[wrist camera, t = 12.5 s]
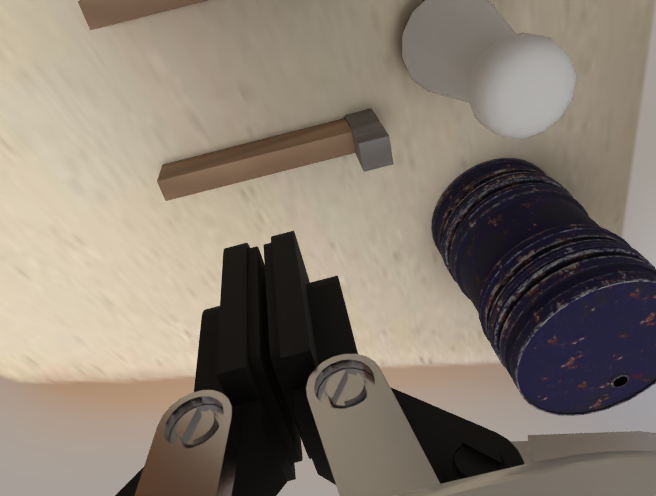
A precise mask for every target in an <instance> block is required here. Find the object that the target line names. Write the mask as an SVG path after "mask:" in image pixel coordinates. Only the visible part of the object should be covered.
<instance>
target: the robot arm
mask: <svg viewBox="0 0 656 496" xmlns="http://www.w3.org/2000/svg"><path fill="white" fill-rule="evenodd" d="M264 259H265V265H264V262H263V259H262V256H261V253H260V251H259V248H258V247H253V248H250V247H249V245H248V243H244V244H240V245H237V246H233V247H229V248H225V249H224V253H223V269H222V285H221V301H220V306H218V307H214V308H210V309H206V310H204V311H203V314H202V321H201V330H200V340H199V349H198V359H197V368H196V378H195V387H194V388H195V389H194V392H193V393H191V394H188V395H186V396H184V397H182V398H181V399H179V400H178V401H177V402H175V403H174V404H173V405H171V407H169V409H168V410H167V411H166V412H165V413H164V415H163V416H162V418H161V420H160V422H159V424H158V426H157V429H156V432H155V435H154V438H153V441H152V444H151V447H150V450H149V453H148V456H147V459H146V463H145V465H144V467H143V468H142V469H141V470H140V471H139V472H138V473H137V474H136V475H135V476H134V478H132V479H131V480H130V481H129V482H128V483H127V484H126V485H125V487H124V488H122V489H121V490H120V491H119V492H118V494H117V495H115V496H276V495H277V494H278V493H279V491H280V490H281V489H282V487H283V486H284V485H285V484H286V483H287V481H290V480H294V479H296V478H295V466H294V463H295V462H299V461H302V449H301V439H302V442H303V444H304V447H305V450H306V452H307V454H308V457H309V458H310V459H311V458H312V460H313V462H314V465H315V468H316V470H317V473H318V474H319V475H320V476H322V477H324V478H325V479H327V480H329V481H331V482H332V483H334V484H335V485H336V486H337V489H338V492H339V495H340V496H656V433H650V432H641V431H634V432H607V433H606V432H605V433H577V434H549V435H528V441H517V442H510V441H509V440H508V439H506V438H504V437H503V436H501V435H499V434H498V433H496V432H494V431H491V430H488V429H486V428H484V427H482V426H480V425H477V424H475V423H473V422H470V421H468V420H465V419H463V418H461V417H458V416H456V415H454V414H452V413H449V412H446V411H445V410H442V409H440V408H438V407H435V406H432V405H431V404H428V403H426V402H424V401H421V400H419V399H417V398H414V397H412V396H410V395H407V394H405V393H402V392H400V391H398V390H395V389H393V388H391V387H390V386H389V384H388V382H387V380H386V378H385V376H384V374H383V372H382V371H381V369H380V368H379V366H378V365H377V364H376V363H375V361H373V360H371V359H370V358H368V357H366V356H363V355H359V354H358V353H357V349H356V345H355V341H354V337H353V333H352V329H351V325H350V321H349V317H348V313H347V309H346V305H345V302H344V298H343V294H342V290H341V286H340V282H339V279H338V276H334V277H331V278H327V279H323V280H319V281H315V282H311V283H310V282H309V279H308V275H307V272H306V269H305V265H304V262H303V259H302V256H301V252H300V249H299V246H298V242H297V239H296V236H295V233H294V231H291V232H287V233H283V234H279V235H275V236H272V237H271V243H269V244H265V245H264ZM300 437H301V438H300Z"/></svg>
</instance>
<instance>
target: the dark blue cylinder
mask: <svg viewBox="0 0 656 496" xmlns="http://www.w3.org/2000/svg"><path fill="white" fill-rule="evenodd" d="M432 235H433V239H434V242H435V245H436V247H437V248H438V250H439V252H440V253H441V255H442V257H443V260H444V263H445V265H446V267H447V269H448V271H449V272H450V274H451V276H452V277H453V279H454V280H455V281H456V282H457V283H458V285H459V287H460V288H461V290H462V292H463V293H464V294H465V295H466V296H467V297H468V298H469V299H470V300H471V301H472V302H473V304H474V306H475V308H476V309H477V311H478V313H479V319H480V322H481V326H482V329H483V332H484V334H485V336H486V337H487V339H488V340H489V341H490V343H491V346H492V348H493V349H494V351H495V353H496V355H497V356H498V358H499V360H500V361H501V363H502V365H503V366H504V367H505V368H506V369H507V371H508V372H509V374H510V376H511V377H512V379H513V381H514V383H515V385H516V386H517V388H518V390H519V391H520V393H521V395H522V397H523V398H524V399H525V400H526V401H527V402H528V403H529V404H530V405H531V406H533V407H535V408H536V409H538V410H540V411H543V412H546V413H549V414H554V415H563V416H574V415H584V414H591V413H595V412H599V411H603V410H606V409H609V408H612V407H614V406H617V405H619V404H622V403H624V402H626V401H628V400H630V399H632V398H634V397H636V396H637V395H639V394H641V393H643V392H644V391H645V390H647V389H648V388H650V387H651V386H653V385H654V384H655V383H656V269H655V267H654V266H653V265H652V264H651V263H650V262H649V261H648V260H647V259H645V258H644V257H643V256H642V255H641V254H640V253H639V252H638V251H636V250H635V249H633V248H632V247H631V246H630V245H629V244H628V243H627V242H626V241H625V240H624V239H622V238H621V237H619V236H618V235H616V234H614V233H612V232H610V231H608V230H606V229H604V228H601V227H600V226H599V225H597V224H596V223H595V222H594V221H593V220H592V219H591V218H590V217H589V216H588V214H587V212H586V211H585V209H584V208H583V207H582V206H581V205H580V204H579V203H578V202H577V201H576V200H575V199H574V198H573V196H572V195H571V194H570V193H569V192H568V191H567V190H566V189H565V188H564V187H563V186H561V185H560V184H559V183H558V182H556V181H555V180H553V179H552V178H550V177H548V176H547V175H546V174H545V173H544V172H543V171H542V170H540V169H539V168H538V167H536V166H535V165H533V164H532V163H529V162H527V161H524V160H519V159H514V158H502V159H494V160H491V161H487V162H484V163H481V164H479V165H477V166H474V167H472V168H471V169H469V170H467V171H466V172H464V173H463V174H461V175H460V176H459V177H458V178H456V179H455V180H454V181H453V182H452V183H451V184H450V185H449V186H448V188H447V189H446V190H445V191H444V193H443V194H442V196H441V197H440V199H439V201H438V203H437V205H436V208H435V210H434V214H433V218H432Z"/></svg>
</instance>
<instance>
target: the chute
mask: <svg viewBox="0 0 656 496" xmlns="http://www.w3.org/2000/svg"><path fill="white" fill-rule="evenodd" d="M202 1H206V0H80V1H78V3H79V5H80V8H81V10H82V12H83V14H84V17H85V19H86V21H87V23H88V26H89V28H90V30H93V29H97V28H101V27H105V26H109V25H113V24H117V23H121V22H124V21H128V20H132V19H136V18H140V17H144V16H148V15H152V14H156V13H160V12H163V11H167V10H171V9H175V8H179V7H183V6H187V5H191V4H195V3H199V2H202ZM352 153H356V155H357V158H358V160H359V162H360V164H361V166H362V168H363V171H364V172H365V171H369V170H372V169H376V168H380V167H384V166H388V165H392V164H393V158H392V152H391V145H390V139H389V135H388V134H387V132H386V131H385V129H384V127H383V126H382V124H381V123H380V121H379V120H378V118H377V117H376V115H375V113H374V112H373V110H372V109H369V110H365V111H361V112H357V113H353V114H349V115H345V119H342V120H338V121H334V122H330V123H326V124H322V125H318V126H314V127H310V128H306V129H302V130H298V131H294V132H291V133H287V134H283V135H279V136H275V137H271V138H267V139H263V140H259V141H255V142H251V143H247V144H243V145H240V146H236V147H232V148H228V149H224V150H220V151H216V152H212V153H208V154H204V155H200V156H196V157H192V158H189V159H185V160H181V161H177V162H173V163H169V164H165V165H162V168H161V171H160V174H159V177H158V180H157V182H158V184H159V187H160V189H161V191H162V194H163V196H164V198H165V200H166V201H167V200H171V199H175V198H179V197H183V196H187V195H191V194H195V193H199V192H203V191H207V190H211V189H214V188H218V187H222V186H226V185H230V184H234V183H238V182H242V181H246V180H250V179H254V178H258V177H262V176H266V175H269V174H273V173H277V172H281V171H285V170H289V169H293V168H297V167H301V166H305V165H309V164H313V163H317V162H321V161H324V160H328V159H332V158H336V157H340V156H344V155H348V154H352Z"/></svg>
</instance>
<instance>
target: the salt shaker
mask: <svg viewBox="0 0 656 496" xmlns="http://www.w3.org/2000/svg"><path fill="white" fill-rule="evenodd" d="M402 58H403V60H404V62H405V65H406V67H407V69H408V71H409V73H410V76H411V78H412V80H414V81H415V82H416V83H418V84H419V85H421V86H422V87H423V88H425V89H426V90H427V91H430V92H433V93H437V94H440V95H444V96H447V97H451V98H455V99H458V100H462V101H465V102H469V103H470V105H471V108H472V110H473V113H474V116H475V118H476V119H477V120H478V121H479V122H480V123H481V124H482V125H483V126H485V127H486V128H488V129H489V130H490V131H492V132H493V133H494V134H496V135H499V136H501V137H505V138H513V139H520V140H522V139H525V138H528V137H531V136H534V135H537V134H540V133H542V132H544V131H545V130H546V129H547V128H549V127H550V126H551V125H553V124H554V123H555V122H556V121H558V120H559V119H560V118H561V116H562V115H563V113H564V111H565V110H566V108H567V107H568V105H569V103H570V102H571V100H572V98H573V93H574V88H575V83H576V78H577V76H576V72H575V69H574V65H573V62H572V58H571V57H570V56H569V55H568V54H567V53H566V52H565V51H564V50H563V49H562V48H561V47H560V46H559V45H558V44H557V43H556V42H554V41H553V40H552V39H551V38H549V37H545V36H541V35H534V34H528V33H519V34H516V33H515V32H514V31H513V29H512V28H511V27H510V26H509V24H508V23H507V22H506V21H505V19H504V18H503V17H502V16H501V14H500V13H499V12H498V11H497V9H496V8H495V7H494V6H493V5H492V4H491V3H490V2H489V1H488V0H424V1H423V2H422V3H421V4H420V5H419V6H418V7H417V8H416V9H415V10H414V11H413V12H412V14H411V16H410V18H409V21H408V23H407V25H406V27H405V30H404V32H403V34H402Z"/></svg>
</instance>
